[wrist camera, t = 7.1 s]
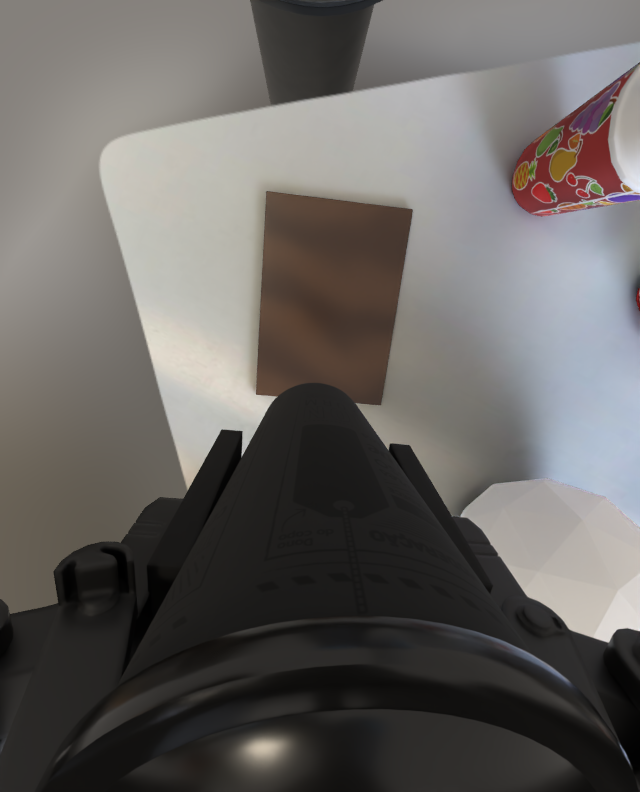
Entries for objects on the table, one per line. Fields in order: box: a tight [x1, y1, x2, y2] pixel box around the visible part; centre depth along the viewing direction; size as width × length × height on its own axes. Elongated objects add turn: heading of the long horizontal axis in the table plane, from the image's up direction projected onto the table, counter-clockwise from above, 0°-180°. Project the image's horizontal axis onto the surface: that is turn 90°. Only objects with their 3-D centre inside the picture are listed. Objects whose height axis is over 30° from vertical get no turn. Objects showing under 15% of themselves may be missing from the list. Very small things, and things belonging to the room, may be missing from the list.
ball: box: [460, 478, 640, 643], centre depth 38 cm, size 19×20×20 cm
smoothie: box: [512, 62, 640, 216], centre depth 25 cm, size 8×8×20 cm
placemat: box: [256, 191, 413, 405], centre depth 37 cm, size 20×14×1 cm
